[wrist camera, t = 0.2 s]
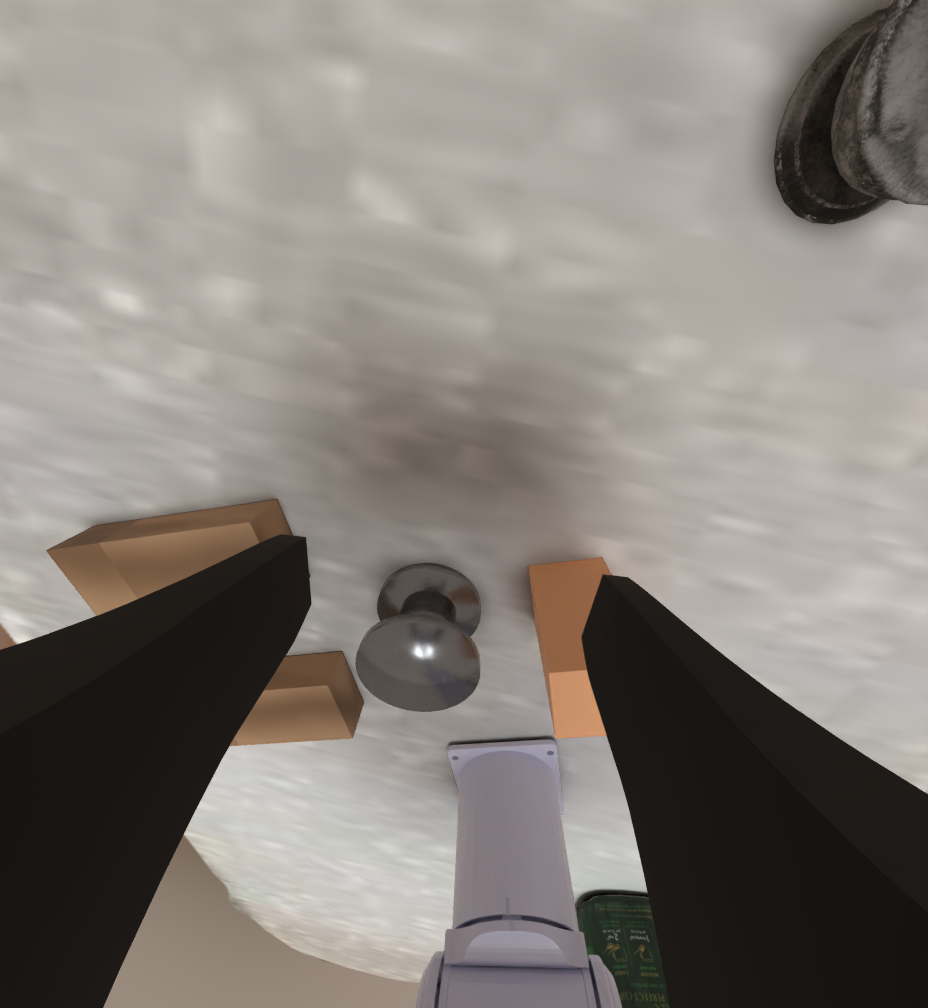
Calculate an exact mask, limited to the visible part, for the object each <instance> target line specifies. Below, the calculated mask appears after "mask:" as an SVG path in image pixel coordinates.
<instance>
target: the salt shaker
mask: <svg viewBox="0 0 928 1008" xmlns="http://www.w3.org/2000/svg"><path fill="white" fill-rule="evenodd" d="M774 163H775V172H776V182H777V185H778V188H779V190H780V193H781V195H782V197H783V200H784V202H785V203H786V204H787V205H788V206H789V207H790V209H791V210H792V211H793V212H794V213H795V214H796V215H797V216H800V217H802V218H804V219H806V220H808V221H810V222H812V223H823V224H835V223H840V222H844V221H849V220H853V219H857V218H859V217H861V216H863V215H865V214H867V213H869V212H871V211H873V210H875V209H877V208H879V207H881V206H882V205H883V204H885V203H886V202H887V201H889V200H900V201H902V202H904V203H906V204H917V205H928V0H895V1H894V2H893V3H892V4H891V6H890V7H889V8H885V9H882V10H878V11H876V12H874V13H872V14H870V15H869V16H867V17H865V18H864V19H862V20H860V21H859V22H857V23H855V24H853V25H852V26H850V27H849V28H848V29H846V30H845V31H844V32H843V33H842V34H841V35H840V36H839V37H838V38H837V39H835V40H834V41H833V42H832V43H831V44H830V45H829V46H828V47H827V48H825V49H824V50H823V51H822V52H821V54H820V55H819V56H818V58H817V59H816V60H815V62H814V63H813V64H812V65H811V67H810V68H809V69H808V71H807V72H806V73H805V74H804V76H803V77H802V79H801V81H800V82H799V84H798V86H797V88H796V90H795V92H794V94H793V95H792V97H791V99H790V101H789V103H788V105H787V107H786V110H785V113H784V116H783V119H782V122H781V125H780V128H779V131H778V135H777V143H776V150H775V158H774Z"/></svg>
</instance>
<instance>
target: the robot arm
mask: <svg viewBox="0 0 928 1008" xmlns="http://www.w3.org/2000/svg"><path fill="white" fill-rule="evenodd" d="M310 606H311V593H310V581H309V569H308V556H307V544H306V537H300V536H292V535H284V534H280V535H277V536H275V537H272V538H270V539H267V540H265V541H263V542H261V543H259V544H256V545H254V546H252V547H250V548H248V549H246V550H244V551H242V552H240V553H237V554H235V555H233V556H231V557H229V558H227V559H225V560H223V561H221V562H219V563H216V564H214V565H212V566H210V567H208V568H206V569H204V570H202V571H200V572H198V573H195V574H193V575H191V576H189V577H187V578H185V579H182V580H180V581H178V582H175V583H173V584H171V585H169V586H166V587H164V588H162V589H160V590H157V591H155V592H153V593H150V594H148V595H146V596H144V597H141V598H139V599H137V600H134V601H132V602H130V603H128V604H125V605H123V606H120V607H118V608H115V609H113V610H110V611H108V612H105V613H103V614H100V615H98V616H95V617H92V618H90V619H87V620H84V621H82V622H79V623H76V624H74V625H71V626H68V627H66V628H63V629H60V630H57V631H55V632H52V633H49V634H47V635H44V636H41V637H38V638H35V639H32V640H29V641H26V642H23V643H20V644H17V645H14V646H11V647H8V648H5V649H2V650H0V1008H103V1007H104V1004H105V1002H106V1000H107V998H108V995H109V993H110V991H111V988H112V986H113V984H114V981H115V979H116V977H117V975H118V972H119V970H120V968H121V966H122V963H123V961H124V959H125V957H126V955H127V952H128V950H129V948H130V946H131V944H132V942H133V940H134V937H135V935H136V933H137V931H138V929H139V927H140V924H141V922H142V920H143V918H144V916H145V914H146V912H147V909H148V907H149V905H150V903H151V901H152V899H153V897H154V894H155V892H156V890H157V888H158V886H159V884H160V881H161V879H162V877H163V875H164V873H165V871H166V869H167V867H168V865H169V863H170V861H171V859H172V857H173V855H174V853H175V851H176V848H177V847H178V845H179V843H180V841H181V839H182V837H183V834H184V832H185V830H186V828H187V826H188V824H189V822H190V820H191V818H192V816H193V814H194V812H195V810H196V808H197V806H198V804H199V802H200V800H201V799H202V797H203V795H204V793H205V791H206V789H207V787H208V785H209V783H210V781H211V779H212V777H213V775H214V773H215V771H216V769H217V767H218V766H219V764H220V762H221V760H222V758H223V756H224V755H225V753H226V751H227V749H228V748H229V746H230V744H231V742H232V741H233V739H234V737H235V736H236V734H237V732H238V731H239V729H240V728H241V726H242V724H243V723H244V721H245V720H246V718H247V716H248V715H249V713H250V712H251V710H252V708H253V707H254V705H255V704H256V702H257V701H258V699H259V697H260V696H261V694H262V693H263V691H264V689H265V688H266V686H267V685H268V683H269V681H270V680H271V678H272V677H273V675H274V674H275V672H276V670H277V669H278V667H279V665H280V664H281V662H282V661H283V659H284V657H285V656H286V654H287V653H288V651H289V649H290V648H291V646H292V644H293V643H294V641H295V639H296V637H297V634H298V632H299V630H300V628H301V626H302V624H303V622H304V619H305V617H306V615H307V613H308V610H309V608H310ZM581 639H582V645H583V651H584V657H585V662H586V668H587V673H588V678H589V681H590V684H591V688H592V691H593V694H594V697H595V700H596V704H597V707H598V710H599V713H600V716H601V719H602V723H603V726H604V729H605V732H606V735H607V738H608V741H609V744H610V747H611V751H612V754H613V757H614V760H615V763H616V766H617V769H618V772H619V775H620V779H621V782H622V785H623V789H624V792H625V796H626V800H627V803H628V807H629V811H630V815H631V819H632V824H633V828H634V833H635V837H636V841H637V846H638V850H639V854H640V859H641V863H642V868H643V872H644V877H645V882H646V887H647V892H648V897H649V901H650V906H651V911H652V916H653V921H654V925H655V930H656V935H657V940H658V946H659V951H660V956H661V962H662V967H663V973H664V978H665V983H666V989H667V994H668V1000H669V1005H670V1008H928V794H927V793H925V792H923V791H922V790H920V789H919V788H917V787H915V786H914V785H912V784H910V783H909V782H907V781H906V780H904V779H902V778H901V777H899V776H898V775H896V774H894V773H893V772H891V771H889V770H888V769H886V768H885V767H883V766H881V765H880V764H878V763H877V762H875V761H873V760H872V759H870V758H869V757H867V756H865V755H864V754H862V753H861V752H859V751H858V750H856V749H855V748H853V747H852V746H850V745H848V744H847V743H845V742H844V741H842V740H841V739H839V738H838V737H836V736H835V735H833V734H832V733H830V732H829V731H827V730H826V729H824V728H823V727H822V726H820V725H819V724H817V723H816V722H814V721H813V720H811V719H810V718H808V717H807V716H805V715H804V714H803V713H801V712H800V711H798V710H797V709H795V708H794V707H792V706H791V705H789V704H788V703H787V702H785V701H784V700H782V699H781V698H780V697H778V696H777V695H775V694H774V693H773V692H771V691H770V690H769V689H767V688H766V687H765V686H763V685H762V684H761V683H759V682H758V681H757V680H755V679H754V678H753V677H751V676H750V675H749V674H747V673H746V672H745V671H743V670H742V669H741V668H740V667H738V666H737V665H736V664H734V663H733V662H732V661H730V660H729V659H728V658H727V657H725V656H724V655H723V654H722V653H720V652H719V651H718V650H717V649H715V648H714V647H713V646H712V645H710V644H709V643H708V642H707V641H705V640H704V639H703V638H702V637H700V636H699V635H698V634H697V633H696V632H694V631H693V630H692V629H691V628H690V627H688V626H687V625H686V624H685V623H684V622H682V621H681V620H680V619H679V618H678V617H676V616H675V615H674V614H673V613H672V612H670V611H669V610H668V609H667V608H666V607H665V606H663V605H662V604H661V603H660V602H659V601H657V600H656V599H655V598H654V597H653V596H651V595H650V594H649V593H648V592H646V591H645V590H644V589H643V588H642V587H640V586H639V585H638V584H636V583H635V582H634V581H632V580H631V579H629V578H628V577H621V576H613V575H605V574H603V575H602V578H601V581H600V584H599V587H598V589H597V592H596V595H595V598H594V601H593V604H592V607H591V610H590V613H589V616H588V619H587V622H586V624H585V627H584V630H583V633H582V636H581ZM447 755H448V758H449V761H450V764H451V767H452V771H453V774H454V777H455V780H456V783H457V787H458V790H459V807H458V827H457V847H456V866H455V886H454V906H453V926H452V929H447V930H446V933H445V949H444V951H437V952H435V953H434V955H433V956H432V959H431V961H430V963H429V964H428V966H427V967H426V969H425V970H424V973H423V975H422V978H421V982H420V987H419V991H418V997H417V1003H416V1008H622V1005H621V1001H620V997H619V993H618V990H617V986H616V983H615V980H614V978H613V975H612V974H611V973H610V971H609V970H608V969H607V967H606V966H605V965H604V964H603V962H602V960H601V958H600V957H599V956H598V955H589V956H588V957H587V951H586V945H585V939H584V934H583V932H579V927H578V921H577V915H576V908H575V902H574V896H573V890H572V883H571V877H570V871H569V865H568V858H567V852H566V846H565V840H564V833H563V827H562V821H561V815H562V814H563V803H562V793H561V784H560V774H559V764H558V754H557V746H556V742H555V741H554V740H551V739H546V740H529V741H512V742H495V743H478V744H461V745H451V746H449V747H448V750H447Z"/></svg>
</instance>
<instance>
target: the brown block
mask: <svg viewBox="0 0 928 1008" xmlns="http://www.w3.org/2000/svg"><path fill="white" fill-rule="evenodd" d="M528 569H529V577H530V586H531V594H532V603H533V612H534V620H535V626H536V632H537V637H538V643H539V648H540V654H541V660H542V665H543V671H544V676H545V682H546V688H547V693H548V699H549V704H550V710H551V716H552V721H553V727H554V732H555V738H572V737H589V736H606V732H605V729H604V726H603V723H602V719H601V716H600V713H599V710H598V707H597V704H596V700H595V697H594V694H593V691H592V688H591V684H590V681H589V678H588V673H587V668H586V662H585V657H584V651H583V645H582V639H581V636H582V633H583V630H584V627H585V624H586V622H587V619H588V616H589V613H590V610H591V607H592V604H593V601H594V598H595V595H596V592H597V589H598V587H599V584H600V581H601V578H602V575H603V574H605V575H611V573H610V571H609V569H608V567H607V565H606V563H605V561H604V559H603V558H593V559H584V560H575V561H567V562H558V563H549V564H540V565H531V566H528Z"/></svg>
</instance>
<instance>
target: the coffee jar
mask: <svg viewBox="0 0 928 1008" xmlns="http://www.w3.org/2000/svg"><path fill="white" fill-rule="evenodd" d="M577 921H578V927H579V932H583V934H584V939H585V945H586V951H587V957H588V956H589V955H598V956H599V957H600V958H601V960H602V962H603V964H604V965H605V966H606V967H607V969H608V970H609V971H610V973H611V974H612V975H613V978H614V980H615V983H616V986H617V990H618V993H619V997H620V1001H621V1005H622V1008H670V1005H669V1000H668V994H667V989H666V983H665V978H664V973H663V967H662V962H661V956H660V951H659V946H658V940H657V935H656V930H655V925H654V921H653V916H652V911H651V906H650V901H649V897H644V896H633V895H621V894H619V895H599V896H595V897H593V898H591V899H590V900H588V901H583V902H582V903H581V904H580V906H579V908H578V911H577Z"/></svg>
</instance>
